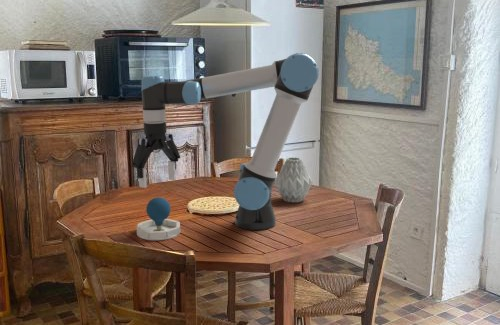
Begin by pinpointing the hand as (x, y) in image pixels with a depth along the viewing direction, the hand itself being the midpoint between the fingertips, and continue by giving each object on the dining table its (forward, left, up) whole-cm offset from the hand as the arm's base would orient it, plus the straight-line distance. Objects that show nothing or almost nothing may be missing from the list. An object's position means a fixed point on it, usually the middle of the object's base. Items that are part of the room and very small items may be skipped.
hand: (158, 183), depth 176 cm
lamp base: (0, 0, -18) cm, 18 cm away
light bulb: (0, 0, -17) cm, 17 cm away
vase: (-15, -65, -18) cm, 69 cm away
